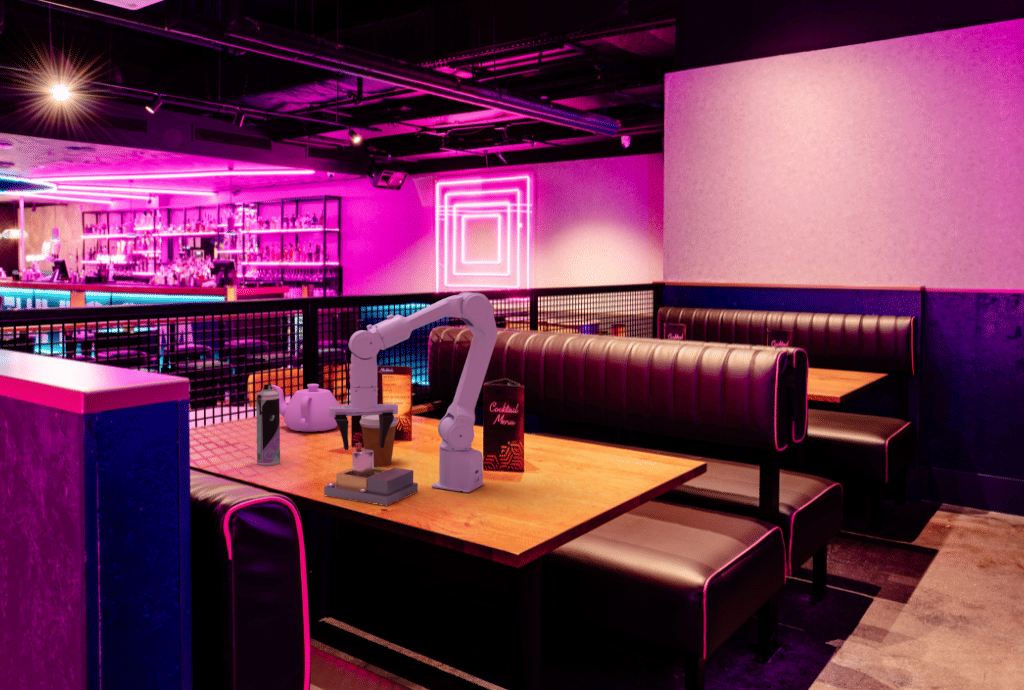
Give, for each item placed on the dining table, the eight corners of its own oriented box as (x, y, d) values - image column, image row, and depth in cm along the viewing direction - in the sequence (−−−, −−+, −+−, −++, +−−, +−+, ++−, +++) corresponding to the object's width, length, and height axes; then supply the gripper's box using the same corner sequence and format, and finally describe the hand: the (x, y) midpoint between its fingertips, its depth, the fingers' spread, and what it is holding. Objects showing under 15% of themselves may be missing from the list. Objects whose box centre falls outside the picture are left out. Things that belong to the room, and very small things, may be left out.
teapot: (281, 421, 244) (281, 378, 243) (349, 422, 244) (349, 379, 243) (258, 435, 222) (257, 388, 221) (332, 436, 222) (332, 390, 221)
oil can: (378, 481, 167) (377, 443, 166) (364, 486, 163) (364, 447, 163) (362, 479, 169) (361, 441, 169) (348, 484, 166) (347, 445, 165)
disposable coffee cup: (361, 468, 186) (361, 420, 185) (358, 459, 195) (358, 413, 194) (399, 467, 189) (400, 419, 188) (395, 457, 198) (395, 412, 197)
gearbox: (417, 491, 168) (417, 469, 167) (386, 506, 157) (386, 482, 156) (357, 482, 174) (357, 461, 174) (324, 495, 163) (324, 473, 163)
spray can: (273, 466, 187) (272, 386, 185) (252, 465, 188) (251, 385, 186) (284, 461, 192) (283, 382, 191) (264, 459, 193) (263, 382, 192)
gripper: (393, 382, 170) (393, 442, 172) (327, 384, 165) (327, 446, 167) (400, 387, 164) (399, 448, 165) (331, 389, 159) (331, 453, 160)
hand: (364, 448), depth 165 cm, fingers open, 7 cm apart
